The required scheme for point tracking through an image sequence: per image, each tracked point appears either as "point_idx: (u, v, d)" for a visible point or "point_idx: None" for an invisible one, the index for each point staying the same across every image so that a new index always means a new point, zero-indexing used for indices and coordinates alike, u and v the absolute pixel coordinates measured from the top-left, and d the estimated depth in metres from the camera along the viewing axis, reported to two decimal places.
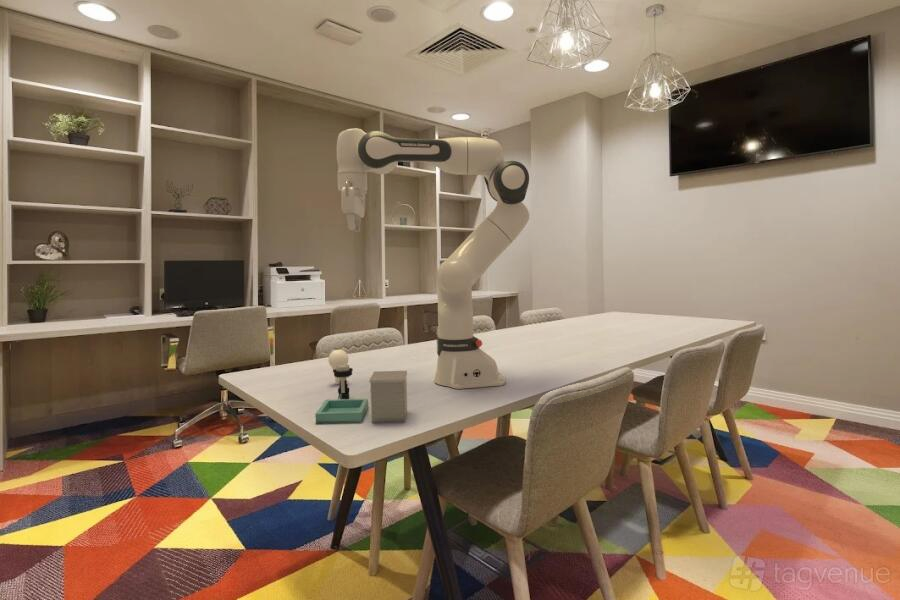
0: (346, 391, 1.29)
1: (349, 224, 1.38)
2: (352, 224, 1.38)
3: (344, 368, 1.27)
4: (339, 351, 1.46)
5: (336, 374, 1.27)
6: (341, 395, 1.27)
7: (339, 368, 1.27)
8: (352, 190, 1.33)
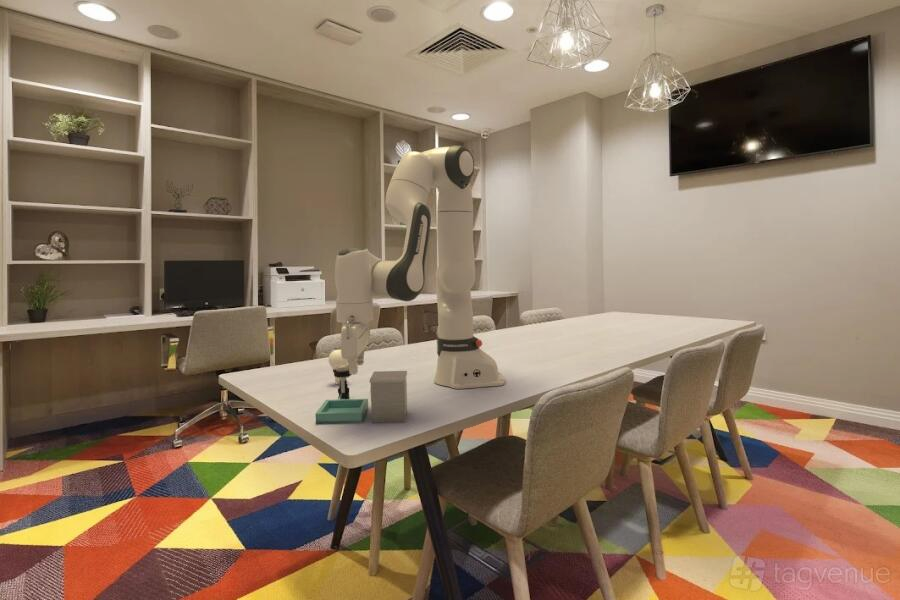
0: (346, 391, 1.29)
1: (351, 368, 1.11)
2: (354, 368, 1.11)
3: (344, 368, 1.27)
4: (339, 351, 1.46)
5: (336, 374, 1.27)
6: (341, 395, 1.27)
7: (339, 368, 1.27)
8: (354, 331, 1.06)
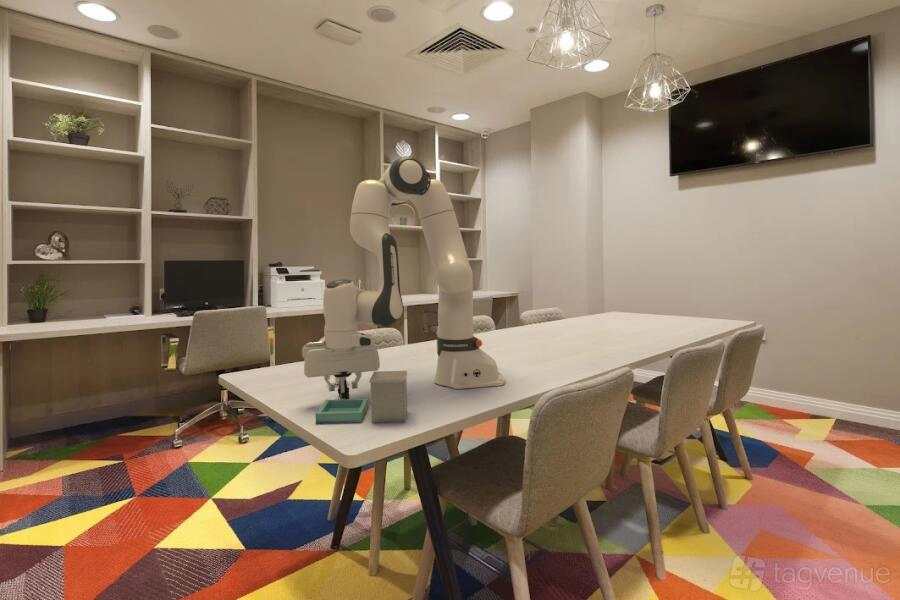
0: (346, 391, 1.29)
1: (328, 385, 1.28)
2: (328, 386, 1.27)
3: None
4: None
5: None
6: (341, 395, 1.27)
7: None
8: (307, 354, 1.23)
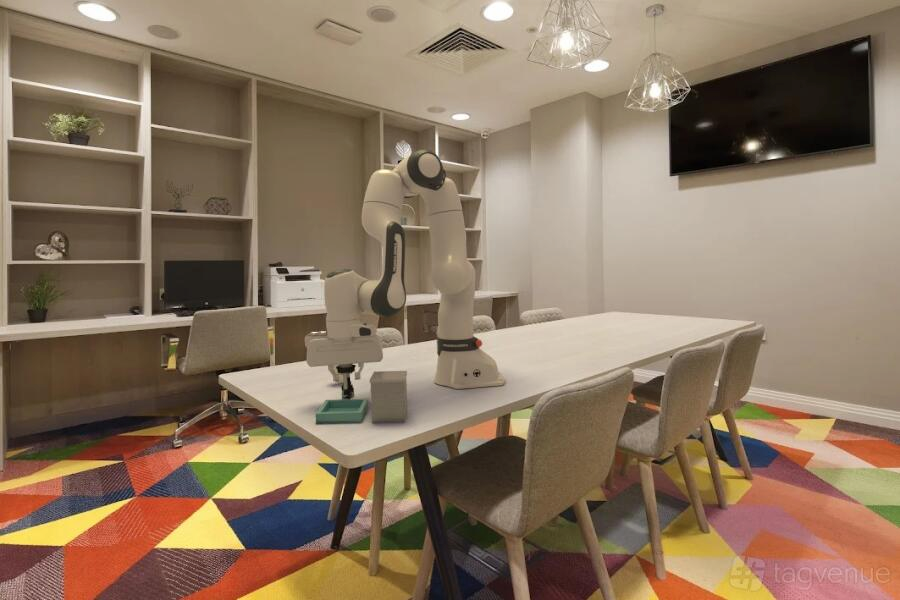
0: (349, 388, 1.28)
1: None
2: (333, 376, 1.27)
3: (346, 364, 1.27)
4: None
5: (338, 370, 1.27)
6: (343, 391, 1.27)
7: None
8: (308, 344, 1.24)
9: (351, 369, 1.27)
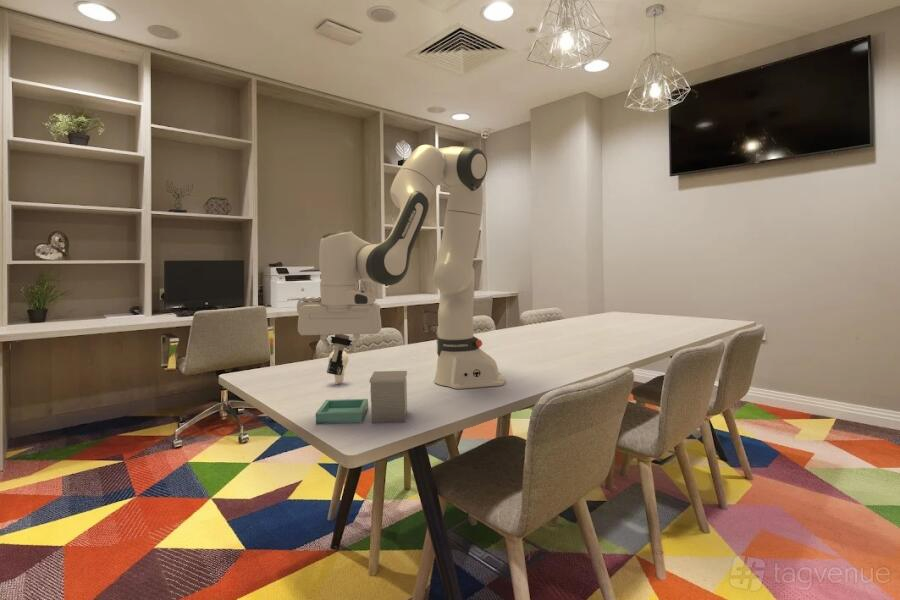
0: (338, 362, 1.16)
1: None
2: None
3: (342, 335, 1.17)
4: None
5: (332, 339, 1.16)
6: (330, 363, 1.15)
7: None
8: (300, 310, 1.14)
9: (345, 342, 1.16)
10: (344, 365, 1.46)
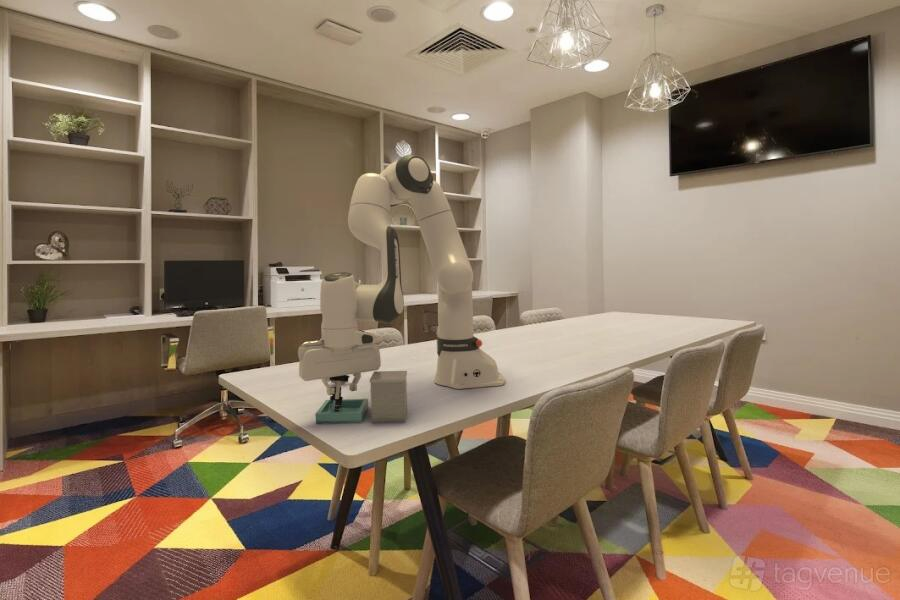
0: (340, 399, 1.17)
1: (327, 388, 1.16)
2: (328, 389, 1.15)
3: None
4: None
5: (333, 377, 1.17)
6: (335, 401, 1.15)
7: None
8: (304, 355, 1.11)
9: (346, 378, 1.18)
10: None
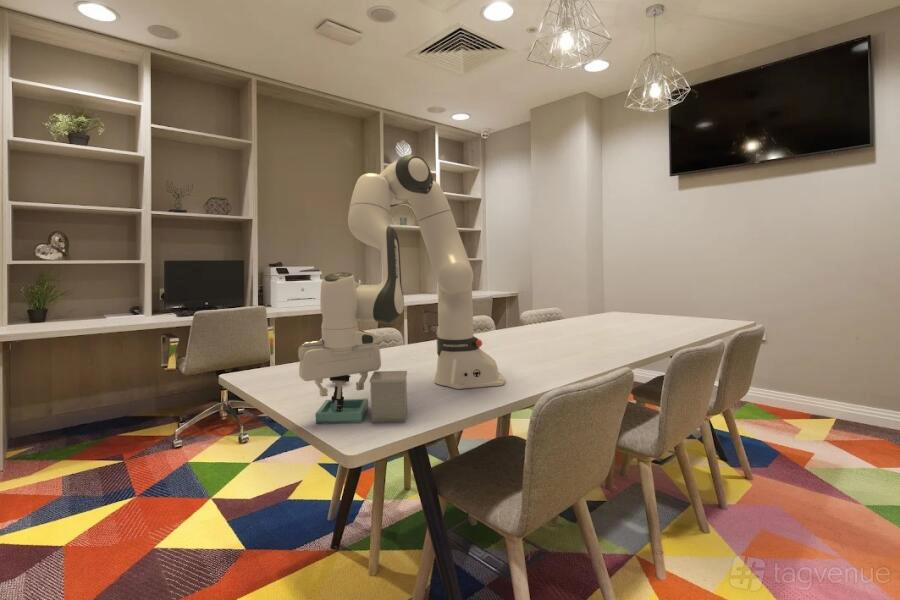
0: (341, 398, 1.17)
1: None
2: (321, 390, 1.14)
3: None
4: None
5: (334, 377, 1.17)
6: (337, 401, 1.15)
7: None
8: (305, 355, 1.11)
9: (347, 378, 1.18)
10: None
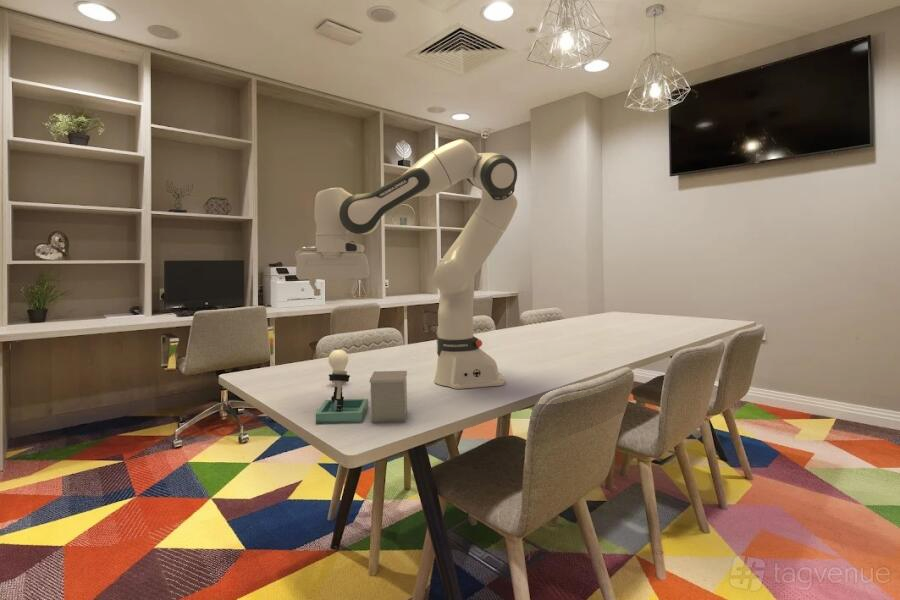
0: (341, 398, 1.17)
1: None
2: None
3: (343, 372, 1.18)
4: (339, 351, 1.46)
5: (334, 377, 1.17)
6: (337, 401, 1.15)
7: (337, 371, 1.18)
8: (298, 257, 1.31)
9: (347, 378, 1.18)
10: (344, 365, 1.46)
